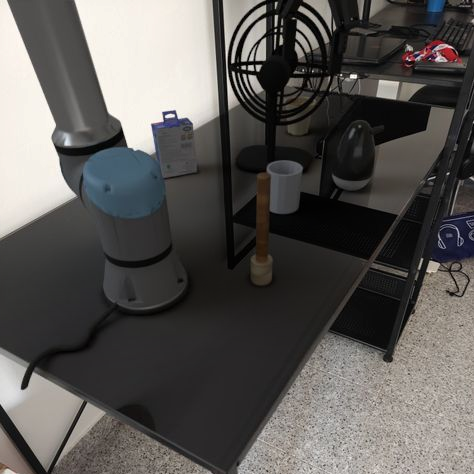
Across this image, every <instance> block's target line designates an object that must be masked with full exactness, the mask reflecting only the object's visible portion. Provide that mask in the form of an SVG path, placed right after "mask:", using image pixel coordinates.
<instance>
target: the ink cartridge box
mask: <svg viewBox="0 0 474 474" xmlns="http://www.w3.org/2000/svg"><path fill="white" fill-rule="evenodd" d="M161 115H162V121H159V122H153V123H150V127H151V133H152V139H153V144H154V150H155V156H156V161H157V162H158V164H159V166H160V168H161V172H162V176H163V178H164V179H166V178H167V179H168V178H171V177H178V176H184V175H189V174H194V173H198V168H197V167H198V165H197V155H196V154H197V153H196V143H195V133H194V123H193V122H192V121H191V120H190V119H189V117H181V118H179V115H178V114H177V110H176V109H174V110H173V109H172V110H165V111H161ZM168 115H174V116H172V117H171V116H170V117H166V116H168Z"/></svg>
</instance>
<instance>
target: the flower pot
mask: <svg viewBox="0 0 474 474" xmlns="http://www.w3.org/2000/svg"><path fill="white" fill-rule="evenodd" d="M295 97H296V96H290V97H287V98H285V99H283V103H287V102H289V101H291V100H292V99H294V98H295ZM309 98H310V97H308V96H299V97H298V98H297V99H296V100H295V101H294V102H292V103H290V104H288V105H286V106H284V108H285V110H290V109H293V108H296V107H298V106H300V105H302V104H303V103H305V102H306V101H307V100H308V99H309ZM316 104H317V100H316V99H314V100H313V102H312V103H311V104H310V105H309V106H308V107H307V108H306V109H305V110H304V111H302V112H301V113H299V114H297V115H295V116H293V117H290V118H286V121H289V120H293V119H296V118H299V117H301V116H303V115H304V114H306V113H307V112H309V111H310V110H311V109H312V108H313V107H314V106H315V105H316ZM288 114H290V113H288ZM312 115H313V113H312V114H311V115H310V116H309V117H307V118H306V119H304V120H302V121H300V122H298V123H295V124H291V125H286V126H287V133H288V134H291V135H292V136H304V135H305V134H308V133H309V129H310V124H311V123H310V122H311V118H312Z"/></svg>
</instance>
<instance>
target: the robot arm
mask: <svg viewBox="0 0 474 474" xmlns="http://www.w3.org/2000/svg"><path fill="white" fill-rule="evenodd" d="M303 1H304V0H278V2H276V6H275V9H276V13H277V14H280V15H281V17H282V25H283V26H282V28H281V32H282V35H281V38H282V44H283V46H282V60H283V61H285V60H291V59H294V56H295V50H296V44H297V43H296V39H297V31H296V30H297V28H298V20H297V19H295V18H296V17H297V16H296V13H297V11H299V9H300V8H301V6H300V5H301V4H302V2H303ZM6 2H7V5H8V7H9V9H10V12H11V15H12V17H13V19H14V22H15V25H16V27H17V29H18V32H19V35H20V38H21V40H22V42H23V45H24V48H25V51H26V53H27V55H28V58H29V60H30V64H31V65H32V68H33V70H34V71H33V72H34V73H35V75H36V78H37V80H38V83H39V86H40V88H41V91H42V93H43V96H44V98H45V101H46V103H47V106H48V108H49V111H50V114H51V116H52V119H53V121H54V124H55V127H54V129H53V131H52V134H51V137H50V139H51V142H52V144H53V147H54V149H55V151H56V154H57V157H58V162H59V163H58V164H59V168H60V173H61V175H62V177H63V181H64V182H65V184H66V185H67V187H68V188H69V189H70V190H71V192H73V194H75V196H76V197H77V198H78V199H79V201H80V202H81V204H82V205H83V206H84V208H85V209H86V211H87V212H88V213H89V215H90V216H91V217H92V219H93V221H94V223H95V226H96V229H97V232H98V233H97V234H98V235H99V240H100V244H101V247H102V251H103V253H104V258H105V260H104V271H103V282H102V289H103V292H104V295H105V299H106V302H107V303H108V304H109V305H110V306H109V307H108V308H107V309H106V310H105V312H103V313H102V314H101V315H100V316H99V317H98V318H97V319H96V320H94V322H92V323H91V325H90V326H89V327H88V328H87V330H86V332H85V335H84V336H83V338H82V339H81V340H80V341H78V342H75V343H72V344H58V345H54V346H50V347H48V348H46V349H45V350H43V351H42V352H40V353H39V354H37V355H36V356H35V357H34V358H33V359H32V360H31V361H30V363H29V364H28V365H27V368H26V369H25V372H24V375H23V378H22V380H21V384H20V391H25V390H26V389H28V388H29V384H30V382H31V378H32V376H33V373H34V371H35V370H36V368H37V366H38V365H39V363H40V362H41V361H43V360H44V359H45V358H47V357H48V356H50V355H52V354H53V353H58V352H70V351H76V350H80V349H81V348H83V347H85V346H86V345H87V344H88V343H89V342H90V340H91V338H92V336H93V334H94V332H95V331H96V329H97V328H98V327H99V326H100V325H102V323H103V322H104V321H106V319H108V317H110V316H111V315H112V314H113V313H114V312H115V311H116V310H117V311H119V312H120V313H125V314H129V315H135V316H138V315H140V316H141V315H142V316H143V315H152V314H157V313H160V312H163V311H166V310H168V309H171V308H172V307H174V306H175V305H177V304H178V303H179V302H180V301H181V300H183V298H184V297H185V296H186V294H187V292H188V289H189V281H188V274H187V271H186V268H185V267H184V265H183V264H182V261H181V260H180V259H181V257H180V253H179V252H178V251H175V248H174V245H173V239H172V231H171V230H172V229H171V223H170V216H169V208H168V202H167V194H166V192H167V189H166V182H165V178H163V176H162V172H161V168H160V166H159V164H158V162H157V159H156V158H154V157H153V156H152V155H151V154H150V153H148V152H146V151H144V150H141V149H136V150H134V148H133V147H129V145H128V143H127V139H126V135H125V132H124V128H123V125H122V122H121V120H120V119H119V118H117V117H115V115H112V114H111V113H110V112H109V110H108V107H107V103H106V100H105V96H104V93H103V90H102V87H101V84H100V80H99V77H98V73H97V69H96V67H95V62H94V60H93V57H92V54H91V50H90V47H89V43H88V40H87V36H86V34H85V31H84V27H83V23H82V20H81V18H80V14H79V9H78V6H77V4H76V0H6ZM327 3H328V6H329V9H330V13H331V16H332V18H333V23H334V25H335V29H334V30H333V31H332V32H331V34H332V41H331V46H330V50H329V56H328V57H329V58H328V63H327V65H328V70H327V71H326V72H327V75H334V76H336V75H339V74H342V67H343V66H342V65H343V59H344V54H346V52H347V48H348V41H349V34H350V31H352V30H353V29H357V28H359V27H360V25H361V16H360V11H359V9H360V8H359V1H358V0H327ZM283 4H285V5H283ZM335 74H336V75H335Z"/></svg>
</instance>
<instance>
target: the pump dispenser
mask: <svg viewBox="0 0 474 474" xmlns="http://www.w3.org/2000/svg"><path fill="white" fill-rule="evenodd" d="M384 130H385V126H384V125H383V124H382V125H379V126H375V127H371V125H370V124H369V122H367V121H366V120H363V119H357V120H354V121H353V122H351V124H349V125H348V127H347V128H346V129H345V131H344V133H343V134H342V136H341V138H340V140H339V143H338V145H337V146H336V150H335V152H334V154H333V155H334V156H333V159H332V163H331V168H330V171H331V175H332V180H333V182H334V184H335V185H336V186H337V187H338V188H340V189H342V190H344V191H348V192H349V191H350V192H352V191H358V190H361V189H363V188H364V187H366V185H368V183H370V180H371V178H372V177H373V176H374V173H375V167H376V142H375V137H374V135H376V134H378V133H380V132H383V131H384Z"/></svg>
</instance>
